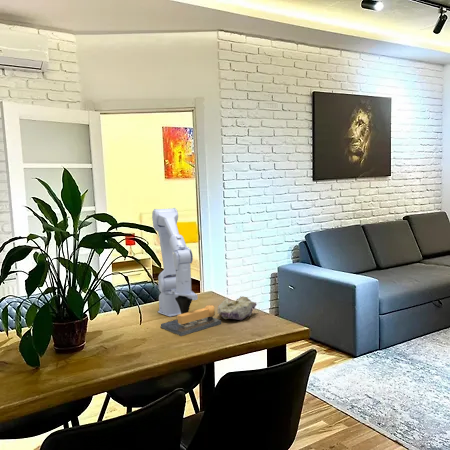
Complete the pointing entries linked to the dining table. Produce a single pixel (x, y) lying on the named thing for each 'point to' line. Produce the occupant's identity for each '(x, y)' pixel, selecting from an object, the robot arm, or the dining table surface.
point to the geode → (236, 308)
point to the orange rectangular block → (196, 314)
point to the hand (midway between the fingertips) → (184, 315)
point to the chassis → (190, 325)
